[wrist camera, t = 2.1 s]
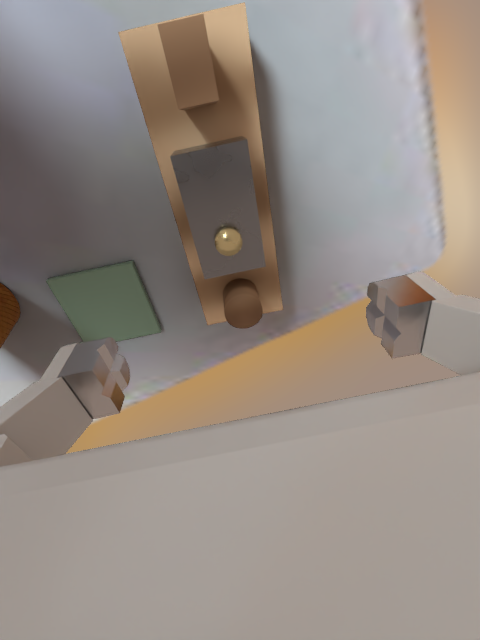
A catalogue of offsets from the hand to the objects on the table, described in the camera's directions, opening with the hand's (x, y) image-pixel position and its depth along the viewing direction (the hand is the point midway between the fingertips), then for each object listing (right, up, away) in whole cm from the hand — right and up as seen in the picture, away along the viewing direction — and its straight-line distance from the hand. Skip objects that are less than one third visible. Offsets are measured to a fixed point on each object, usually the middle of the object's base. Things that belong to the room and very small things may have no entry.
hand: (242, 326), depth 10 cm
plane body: (-2, +11, +16) cm, 19 cm away
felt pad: (-13, +2, +21) cm, 24 cm away
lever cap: (-1, +9, +12) cm, 15 cm away
